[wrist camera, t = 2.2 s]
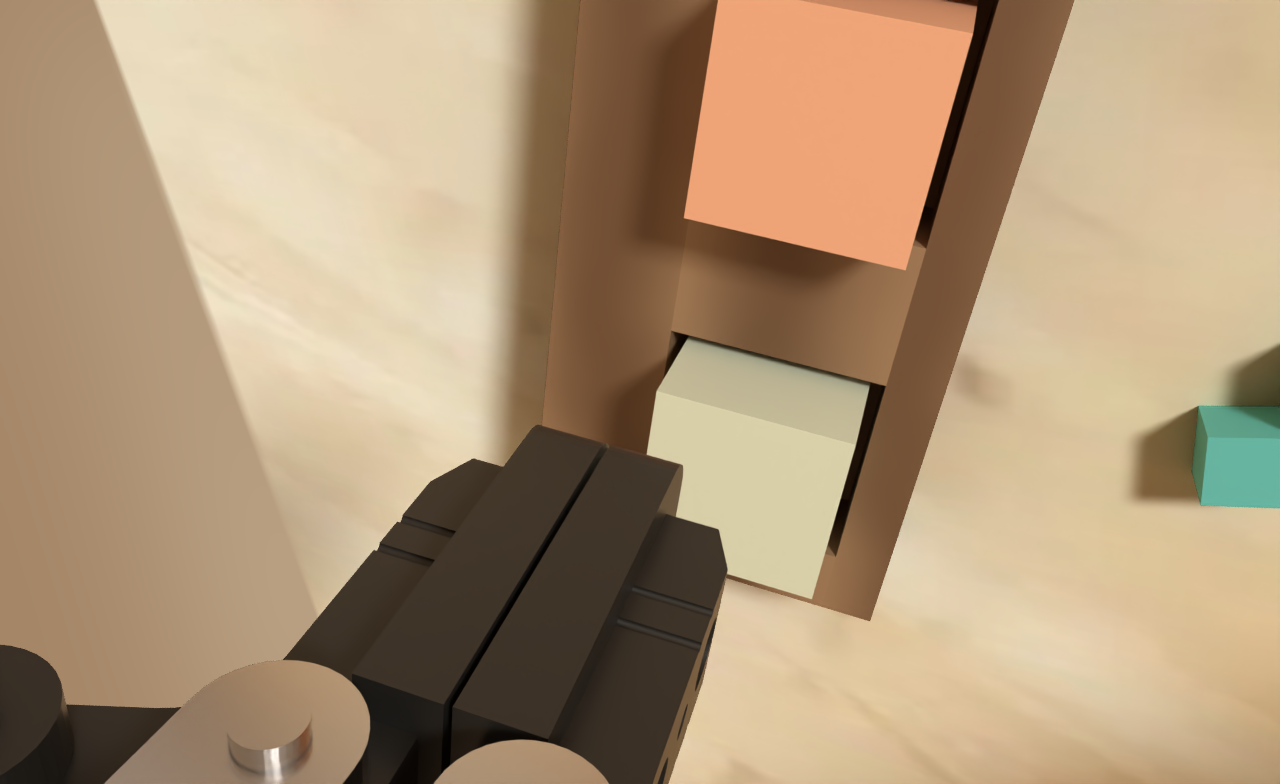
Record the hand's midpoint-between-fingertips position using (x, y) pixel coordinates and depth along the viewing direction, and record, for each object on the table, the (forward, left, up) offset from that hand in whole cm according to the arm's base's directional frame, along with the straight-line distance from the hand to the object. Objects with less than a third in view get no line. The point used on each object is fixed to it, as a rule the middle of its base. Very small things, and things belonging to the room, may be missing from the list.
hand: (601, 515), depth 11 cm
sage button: (0, +10, -18) cm, 21 cm away
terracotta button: (0, 0, -18) cm, 18 cm away
